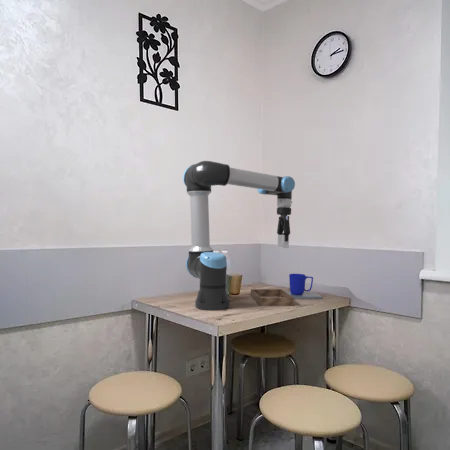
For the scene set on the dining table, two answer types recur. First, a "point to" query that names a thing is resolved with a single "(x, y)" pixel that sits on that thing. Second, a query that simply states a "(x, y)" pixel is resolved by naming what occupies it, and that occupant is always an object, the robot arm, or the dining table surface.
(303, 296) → the board
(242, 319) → the dining table surface
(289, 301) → the crate
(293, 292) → the mug
